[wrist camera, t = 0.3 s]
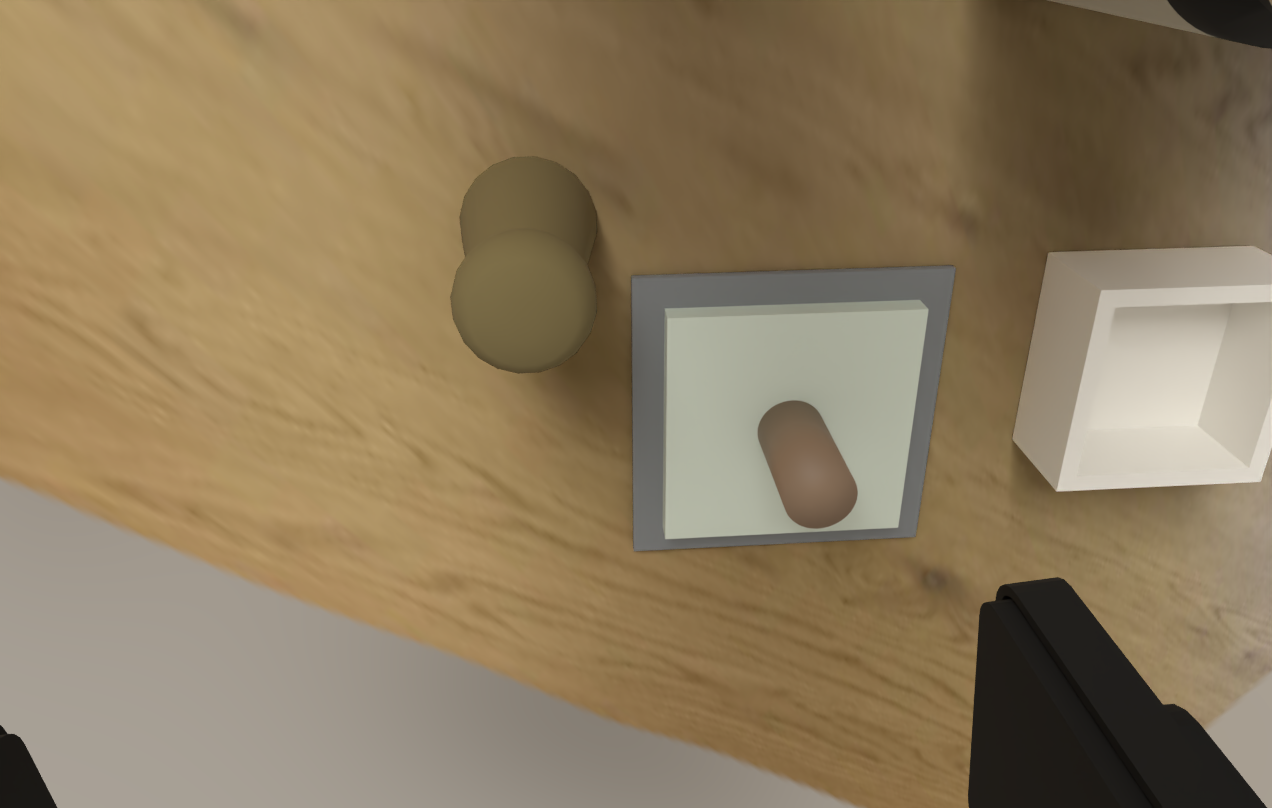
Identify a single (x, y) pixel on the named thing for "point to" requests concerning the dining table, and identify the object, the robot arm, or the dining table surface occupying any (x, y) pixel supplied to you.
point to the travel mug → (1196, 16)
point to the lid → (788, 416)
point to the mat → (772, 290)
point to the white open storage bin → (1150, 369)
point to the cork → (525, 266)
